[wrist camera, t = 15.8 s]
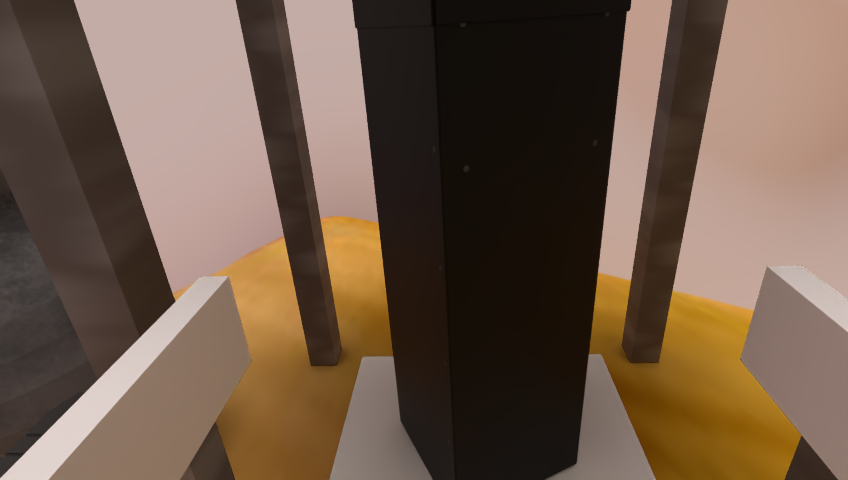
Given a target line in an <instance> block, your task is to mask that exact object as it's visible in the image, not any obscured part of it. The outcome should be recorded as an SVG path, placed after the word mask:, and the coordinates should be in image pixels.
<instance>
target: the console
mask: <svg viewBox="0 0 848 480" xmlns="http://www.w3.org/2000/svg"><path fill="white" fill-rule="evenodd" d="M727 3H728V0H672V6H671V13H670V19H669V26H668V33H667V40H666V47H665V54H664V60H663V67H662V74H661V81H660V88H659V94H658V101H657V109H656V115H655V122H654V129H653V136H652V142H651V149H650V157H649V163H648V170H647V177H646V183H645V191H644V197H643V204H642V211H641V217H640V224H639V232H638V239H637V245H636V251H635V258H634V265H633V273H632V279H631V286H630V292H629V299H628V306H627V313H626V320H625V327H624V333H623V340H622V347H623V349H624V351H625V353H626V355H627V357H628V358H629V360H630V362H659V358H660V353H661V348H662V342H663V337H664V332H665V327H666V322H667V316H668V311H669V306H670V301H671V295H672V290H673V285H674V280H675V274H676V269H677V264H678V258H679V254H680V248H681V243H682V238H683V232H684V227H685V222H686V217H687V212H688V207H689V201H690V196H691V191H692V186H693V180H694V175H695V170H696V164H697V159H698V154H699V149H700V144H701V138H702V133H703V128H704V123H705V118H706V112H707V107H708V102H709V97H710V92H711V86H712V81H713V76H714V70H715V65H716V60H717V55H718V49H719V44H720V39H721V34H722V29H723V24H724V18H725V13H726V8H727ZM236 4H237V9H238V13H239V19H240V23H241V28H242V33H243V38H244V43H245V48H246V52H247V57H248V62H249V67H250V72H251V77H252V82H253V86H254V91H255V96H256V101H257V106H258V111H259V116H260V121H261V126H262V130H263V135H264V140H265V145H266V150H267V154H268V160H269V164H270V169H271V174H272V179H273V184H274V189H275V194H276V199H277V203H278V208H279V213H280V218H281V223H282V228H283V233H284V237H285V242H286V247H287V252H288V257H289V262H290V267H291V271H292V276H293V281H294V286H295V291H296V296H297V301H298V305H299V310H300V315H301V320H302V325H303V330H304V335H305V339H306V344H307V349H308V354H309V359H310V364H311V366H314V365H337V362H338V359H339V356H340V353H341V350H342V347H341V341H340V335H339V329H338V323H337V317H336V311H335V305H334V299H333V293H332V287H331V281H330V275H329V269H328V263H327V257H326V251H325V245H324V239H323V233H322V227H321V221H320V215H319V209H318V203H317V198H316V191H315V186H314V179H313V173H312V167H311V162H310V155H309V149H308V143H307V137H306V131H305V125H304V120H303V114H302V108H301V102H300V96H299V90H298V84H297V79H296V72H295V66H294V60H293V54H292V48H291V43H290V36H289V30H288V24H287V18H286V12H285V6H284V0H236ZM0 167H1V170H2V172H3V174H4V176H5V178H6V181H7V183H8V185H9V187H10V189H11V192H12V194H13V196H14V198H15V200H16V202H17V205H18V207H19V209H20V211H21V213H22V216H23V218H24V220H25V222H26V224H27V227H28V229H29V231H30V233H31V235H32V237H33V240H34V242H35V244H36V246H37V248H38V251H39V253H40V255H41V257H42V259H43V262H44V264H45V266H46V268H47V270H48V272H49V275H50V277H51V279H52V281H53V283H54V286H55V288H56V290H57V292H58V294H59V297H60V299H61V301H62V303H63V305H64V307H65V310H66V312H67V314H68V316H69V318H70V321H71V323H72V325H73V327H74V329H75V332H76V334H77V336H78V338H79V340H80V342H81V345H82V347H83V349H84V351H85V353H86V356H87V358H88V360H89V362H90V364H91V366H92V369H93V371H94V373H95V375H96V377H97V380H98V379H99V378H100V377H101V376H102V375H103V374H104V373H105V372H106V371H107V370H108V369H109V368H110V367H111V366H112V365H113V364H114V363H115V362H116V361H117V360H118V359H119V358H120V357H121V356H122V355H123V354H124V353H125V352H126V351H127V350H128V349H129V348H130V347H131V346H132V345H133V344H134V343H135V342H136V341H137V340H138V339H139V338H140V337H141V336H142V335H143V334H144V333H145V332H146V331H147V330H148V329H149V328H150V327H151V326H152V325H153V324H154V323H155V322H156V321H157V320H158V319H159V318H160V317H161V316H162V315H163V314H164V313H165V312H166V311H167V310H168V309H169V308H170V307H171V306H172V305H173V304H174V303H175V300H174V297H173V294H172V291H171V288H170V285H169V282H168V279H167V276H166V273H165V270H164V267H163V264H162V261H161V258H160V255H159V252H158V249H157V246H156V244H155V240H154V237H153V234H152V232H151V229H150V226H149V222H148V220H147V217H146V214H145V211H144V208H143V205H142V202H141V199H140V196H139V193H138V190H137V187H136V184H135V181H134V178H133V175H132V172H131V169H130V166H129V163H128V160H127V157H126V154H125V151H124V148H123V145H122V142H121V139H120V136H119V133H118V130H117V127H116V125H115V122H114V119H113V116H112V113H111V110H110V107H109V104H108V101H107V98H106V95H105V92H104V89H103V86H102V83H101V80H100V77H99V74H98V71H97V68H96V65H95V62H94V59H93V56H92V53H91V50H90V47H89V44H88V41H87V38H86V35H85V32H84V30H83V26H82V23H81V20H80V18H79V15H78V12H77V9H76V6H75V3H74V0H0ZM180 480H235V478H234V475H233V472H232V469H231V466H230V463H229V460H228V457H227V454H226V451H225V448H224V445H223V442H222V439H221V436H220V434H219V431H218V428H217V425H216V422H215V423H214V424H213V426H212V428H211V429H210V431H209V433H208V434H207V436H206V438H205V439H204V441H203V443H202V444H201V446H200V448H199V449H198V451H197V453H196V454H195V456H194V458H193V459H192V461H191V463H190V464H189V466H188V468H187V469H186V471H185V472H184V474H183V476H182V477H181V479H180ZM329 480H433V479H432V477H431V476H430V474H429V472H428V470H427V468H426V466H425V465H424V463H423V461H422V459H421V457H420V456H419V454H418V452H417V450H416V448H415V446H414V445H413V443H412V441H411V439H410V437H409V436H408V434H407V432H406V430H405V428H404V426H403V425H402V423H401V421H400V412H399V403H398V394H397V385H396V376H395V367H394V358H393V356H374V357H362V360H361V364H360V367H359V371H358V375H357V379H356V382H355V386H354V390H353V393H352V397H351V401H350V405H349V408H348V412H347V416H346V420H345V423H344V427H343V431H342V434H341V438H340V442H339V446H338V449H337V453H336V457H335V460H334V464H333V468H332V472H331V475H330V479H329ZM545 480H656V479H655V476H654V474H653V472H652V469H651V467H650V465H649V462H648V460H647V458H646V456H645V453H644V451H643V449H642V446H641V444H640V442H639V440H638V437H637V435H636V433H635V430H634V428H633V426H632V423H631V421H630V419H629V417H628V414H627V412H626V410H625V407H624V405H623V403H622V401H621V398H620V396H619V394H618V391H617V389H616V387H615V385H614V382H613V380H612V378H611V375H610V373H609V371H608V368H607V366H606V364H605V362H604V359H603V357H602V355H601V354H589V358H588V367H587V376H586V385H585V394H584V403H583V412H582V421H581V430H580V439H579V448H578V457H577V464H575V465H573V466H571V467H569V468H567V469H565V470H563V471H561V472H559V473H557V474H555V475H553V476H551V477H549V478H547V479H545ZM785 480H838V479H837V478H836V477H835V475H834V474H833V473H832V472H831V470H830V469H829V468H828V467H827V465H826V464H825V463H824V462H823V461H822V459H821V458H820V457H819V456H818V454H817V453H816V452H815V451H814V450H813V448H812V447H811V446H810V445H809V443H808V442H807V441H806V440H805V439H804V437H803V436H801V439H800V441H799V444H798V446H797V449H796V452H795V454H794V457H793V459H792V462H791V465H790V467H789V470H788V472H787V475H786V477H785Z"/></svg>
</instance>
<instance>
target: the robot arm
mask: <svg viewBox="0 0 848 480" xmlns="http://www.w3.org/2000/svg"><path fill="white" fill-rule="evenodd" d="M740 360H741V361H742V363H743V364H744V365H745V366H746V367H747V369H748V370H749V371H750V372H751V374H752V375H753V376H754V377H755V379H756V380H757V381H758V382H759V383H760V385H761V386H762V387H763V388H764V390H765V391H766V392H767V393H768V394H769V396H770V397H771V398H772V399H773V401H774V402H775V403H776V404H777V405H778V407H779V408H780V409H781V410H782V412H783V413H784V414H785V415H786V416H787V418H788V419H789V420H790V421H791V423H792V424H793V425H794V426H795V428H796V429H797V430H798V431H799V432H800V434H801V435H802V436H803V437H804V439H805V440H806V441H807V442H808V443H809V445H810V446H811V447H812V448H813V450H814V451H815V452H816V453H817V454H818V456H819V457H820V458H821V459H822V461H823V462H824V463H825V464H826V465H827V467H828V468H829V469H830V470H831V472H832V473H833V474H834V475H835V477H836V478H837V479H838V480H848V299H847V298H846V297H844V296H843V295H841V294H840V293H838V292H837V291H836V290H834V289H833V288H832V287H830V286H829V285H828V284H826V283H825V282H824V281H822V280H821V279H819V278H818V277H817V276H815V275H814V274H813V273H811V272H810V271H809V270H807V269H806V268H804V267H803V266H767V268H766V271H765V275H764V278H763V282H762V285H761V289H760V292H759V296H758V299H757V303H756V306H755V310H754V313H753V317H752V320H751V324H750V327H749V331H748V334H747V338H746V341H745V345H744V348H743V352H742V355H741V359H740ZM251 361H252V360H251V357H250V353H249V349H248V346H247V342H246V338H245V334H244V331H243V327H242V323H241V320H240V316H239V312H238V309H237V305H236V301H235V297H234V294H233V290H232V286H231V283H230V279H229V276H215V277H200V278H199V279H198V280H197V281H196V282H195V283H194V284H193V285H192V286H191V287H190V288H189V289H188V290H187V291H186V292H185V293H184V294H183V295H182V296H181V297H180V298H179V299H178V300H177V301H176V302H175V303H174V304H173V305H172V306H171V307H170V308H169V309H168V310H167V311H166V312H165V313H164V314H163V315H162V316H161V317H160V318H159V319H158V320H157V321H156V322H155V323H154V324H153V325H152V326H151V327H150V328H149V329H148V330H147V331H146V332H145V333H144V334H143V335H142V336H141V337H140V338H139V339H138V340H137V341H136V342H135V343H134V344H133V345H132V346H131V347H130V348H129V349H128V350H127V351H126V352H125V353H124V354H123V355H122V356H121V357H120V358H119V359H118V360H117V361H116V362H115V363H114V364H113V365H112V366H111V367H110V368H109V369H108V370H107V371H106V372H105V373H104V374H103V375H102V376H101V377H100V378H99V379H98V380H97V381H96V382H95V383H94V384H93V385H92V386H91V387H90V388H89V389H88V390H87V391H86V392H78V393H77V394H75V395H74V396H72V397H70V398H69V399H67V400H66V401H64V402H63V403H61V404H60V405H58V406H57V407H55V408H54V409H52V410H51V411H49V412H48V413H47V414H46V415H45V416H44V417H43V418H42V419H41V420H40V421H39V422H38V423H37V424H36V425H35V426H33V427H32V428H31V429H30V430H29V431H28V432H27V433H26V437H25V438H21V439H20V440H19V441H18V442H17V443H16V444H15V445H14V446H13V447H12V448H11V449H10V450H9V451H8V452H7V453H6V456H5V458H0V480H180V479H181V477H182V476H183V474H184V472H185V471H186V469H187V468H188V466H189V464H190V463H191V461H192V459H193V458H194V456H195V454H196V453H197V451H198V449H199V448H200V446H201V444H202V443H203V441H204V439H205V438H206V436H207V434H208V433H209V431H210V429H211V428H212V426H213V424H214V423H215V421H216V419H217V418H218V416H219V414H220V413H221V411H222V409H223V408H224V406H225V404H226V403H227V401H228V399H229V398H230V396H231V394H232V393H233V391H234V390H235V388H236V386H237V385H238V383H239V381H240V380H241V378H242V376H243V375H244V373H245V371H246V370H247V368H248V366H249V365H250V363H251Z"/></svg>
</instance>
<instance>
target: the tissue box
mask: <svg viewBox="0 0 848 480" xmlns="http://www.w3.org/2000/svg"><path fill="white" fill-rule="evenodd" d="M352 2H353V11H354V21H355V27H356V28H357V31H358V40H359V49H360V58H361V67H362V76H363V86H364V94H365V103H366V112H367V122H368V130H369V140H370V149H371V158H372V167H373V176H374V185H375V194H376V203H377V212H378V222H379V231H380V240H381V249H382V258H383V267H384V276H385V285H386V294H387V303H388V312H389V321H390V330H391V339H392V349H393V358H394V367H395V376H396V385H397V394H398V403H399V412H400V421H401V423H402V425H403V426H404V428H405V430H406V432H407V434H408V436H409V437H410V439H411V441H412V443H413V445H414V446H415V448H416V450H417V452H418V454H419V456H420V457H421V459H422V461H423V463H424V465H425V466H426V468H427V470H428V472H429V474H430V476H431V477H432V479H433V480H545V479H547V478H549V477H551V476H553V475H555V474H557V473H559V472H561V471H563V470H565V469H567V468H569V467H571V466H573V465H575V464H577V457H578V448H579V439H580V430H581V421H582V412H583V403H584V394H585V385H586V376H587V367H588V358H589V348H590V339H591V330H592V321H593V312H594V303H595V294H596V285H597V276H598V267H599V258H600V248H601V240H602V231H603V222H604V213H605V204H606V195H607V186H608V177H609V168H610V158H611V150H612V141H613V131H614V123H615V114H616V105H617V96H618V86H619V78H620V68H621V59H622V51H623V40H624V32H625V23H626V14H627V11H629V10H630V7H631V0H352Z"/></svg>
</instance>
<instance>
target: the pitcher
mask: <svg viewBox="0 0 848 480" xmlns="http://www.w3.org/2000/svg"><path fill="white" fill-rule="evenodd" d="M174 300H175V299H174ZM175 302H176V301H175ZM96 381H97V377H96V375H95V373H94V371H93V369H92V366H91V364H90V362H89V360H88V358H87V356H86V353H85V351H84V349H83V347H82V345H81V342H80V340H79V338H78V336H77V334H76V332H75V329H74V327H73V325H72V323H71V321H70V318H69V316H68V314H67V312H66V310H65V307H64V305H63V303H62V301H61V299H60V297H59V294H58V292H57V290H56V288H55V286H54V283H53V281H52V279H51V277H50V275H49V272H48V270H47V268H46V266H45V264H44V262H43V259H42V257H41V255H40V253H39V251H38V248H37V246H36V244H35V242H34V240H33V237H32V235H31V233H30V231H29V229H28V227H27V224H26V222H25V220H24V218H23V216H22V213H21V211H20V209H19V207H18V205H17V202H16V200H15V198H14V196H13V194H12V192H11V189H10V187H9V185H8V183H7V181H6V178H5V176H4V174H3V172H2V170H1V167H0V458H5V456H6V453H7V452H8V451H9V450H10V449H11V448H12V447H13V446H14V445H15V444H16V443H17V442H18V441H19V440H20V439H21V438H25V437H26V433H27V432H28V431H29V430H30V429H31V428H32V427H33V426H35V425H36V424H37V423H38V422H39V421H40V420H41V419H42V418H43V417H44V416H45V415H46V414H47V413H48V412H49V411H51V410H52V409H54V408H55V407H57V406H58V405H60V404H61V403H63V402H64V401H66V400H67V399H69V398H70V397H72V396H74V395H75V394H77V393H78V392H86V391H87V390H88V389H89V388H90V387H91V386H92V385H93V384H94V383H95V382H96Z"/></svg>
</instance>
